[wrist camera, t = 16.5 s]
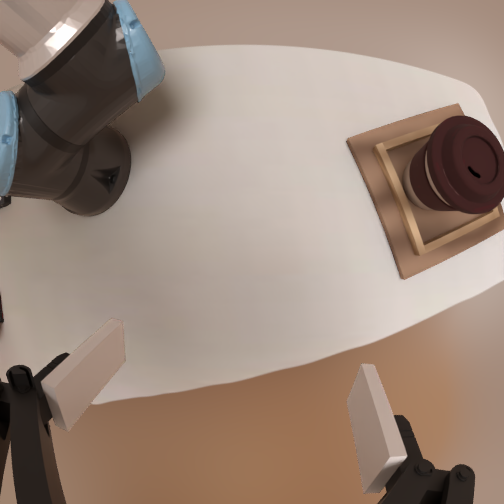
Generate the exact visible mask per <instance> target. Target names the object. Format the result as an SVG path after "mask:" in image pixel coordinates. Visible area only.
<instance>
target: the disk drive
mask: <svg viewBox="0 0 504 504" xmlns="http://www.w3.org/2000/svg"><path fill="white" fill-rule="evenodd" d="M9 204H11V196H0V208H2V207H5V206H7V205H9Z"/></svg>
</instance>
